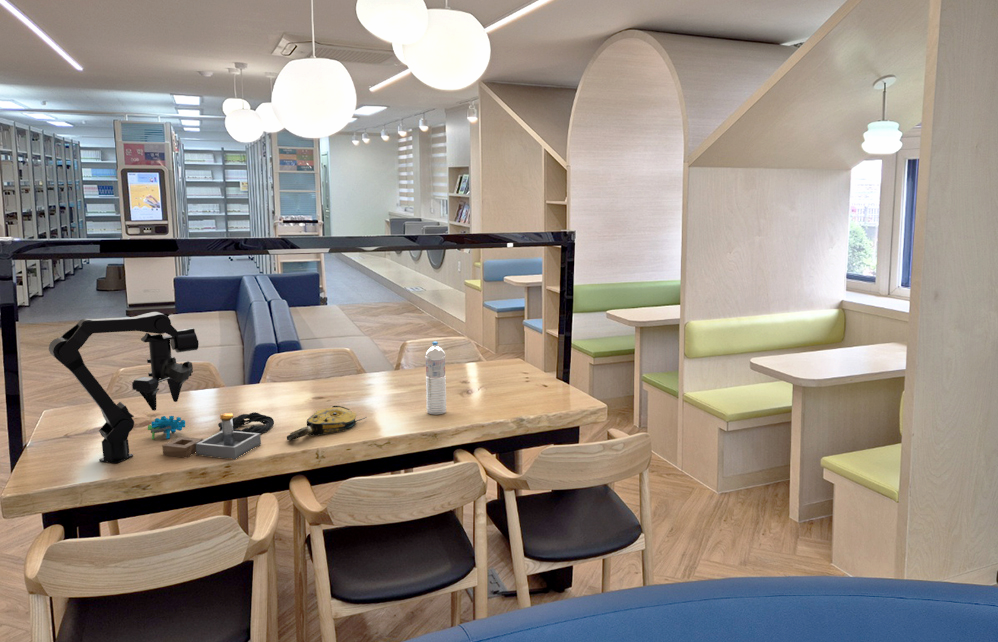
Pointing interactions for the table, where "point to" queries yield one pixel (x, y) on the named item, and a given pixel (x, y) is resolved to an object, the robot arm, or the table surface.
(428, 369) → the water bottle
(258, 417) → the cable
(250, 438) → the tray
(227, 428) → the pin
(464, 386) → the table surface
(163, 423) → the gear
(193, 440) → the block
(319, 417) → the pulley block
